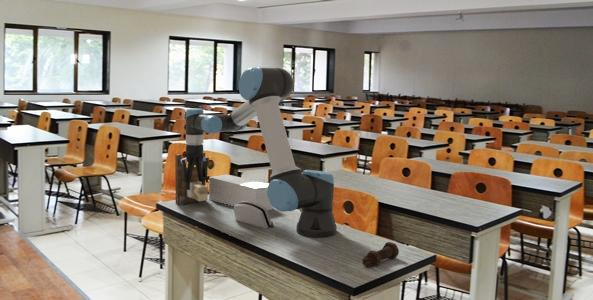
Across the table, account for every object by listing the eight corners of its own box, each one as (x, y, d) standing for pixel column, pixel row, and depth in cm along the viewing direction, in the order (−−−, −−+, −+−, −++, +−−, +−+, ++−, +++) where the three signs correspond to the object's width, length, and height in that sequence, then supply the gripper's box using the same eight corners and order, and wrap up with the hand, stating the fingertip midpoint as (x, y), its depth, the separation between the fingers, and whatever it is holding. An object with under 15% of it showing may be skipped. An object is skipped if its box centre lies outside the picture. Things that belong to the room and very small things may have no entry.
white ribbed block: (209, 199, 252) (209, 177, 250) (227, 196, 259) (227, 174, 258) (255, 213, 230) (255, 188, 228) (273, 209, 238) (274, 185, 236)
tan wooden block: (207, 200, 236) (207, 186, 236) (199, 201, 234) (199, 187, 233) (193, 194, 246) (193, 181, 245) (185, 195, 243) (185, 182, 242)
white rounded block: (274, 225, 212) (269, 203, 208) (266, 232, 208) (261, 209, 205) (244, 217, 222) (238, 196, 218) (236, 223, 219) (230, 202, 215)
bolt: (363, 273, 169) (389, 260, 180) (375, 269, 166) (401, 256, 177) (355, 255, 170) (382, 243, 181) (367, 251, 167) (394, 239, 178)
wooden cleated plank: (207, 200, 248) (207, 153, 245) (179, 205, 240) (179, 155, 236) (203, 199, 251) (203, 152, 248) (175, 203, 242) (175, 154, 239)
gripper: (207, 141, 246) (206, 192, 249) (172, 144, 235) (173, 197, 238) (215, 143, 240) (215, 195, 244) (181, 146, 229) (181, 200, 233)
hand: (194, 196), depth 241 cm, fingers closed on tan wooden block, 4 cm apart
